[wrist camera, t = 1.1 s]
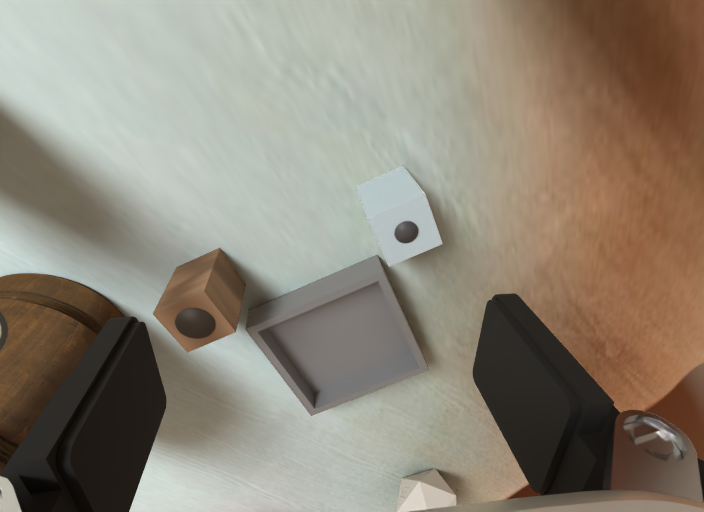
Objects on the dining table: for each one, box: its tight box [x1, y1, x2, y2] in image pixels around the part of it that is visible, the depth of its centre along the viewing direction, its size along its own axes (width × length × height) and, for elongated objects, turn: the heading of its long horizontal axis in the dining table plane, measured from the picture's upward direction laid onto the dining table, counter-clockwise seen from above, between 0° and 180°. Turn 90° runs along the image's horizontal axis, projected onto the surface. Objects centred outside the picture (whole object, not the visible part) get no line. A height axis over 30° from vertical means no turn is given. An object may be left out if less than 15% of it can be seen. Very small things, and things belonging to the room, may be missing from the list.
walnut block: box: [153, 248, 246, 352], centre depth 34 cm, size 4×4×7 cm
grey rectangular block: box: [356, 166, 443, 267], centre depth 32 cm, size 4×4×7 cm
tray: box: [245, 255, 429, 416], centre depth 41 cm, size 14×14×3 cm
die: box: [397, 469, 456, 512], centre depth 55 cm, size 8×9×10 cm
